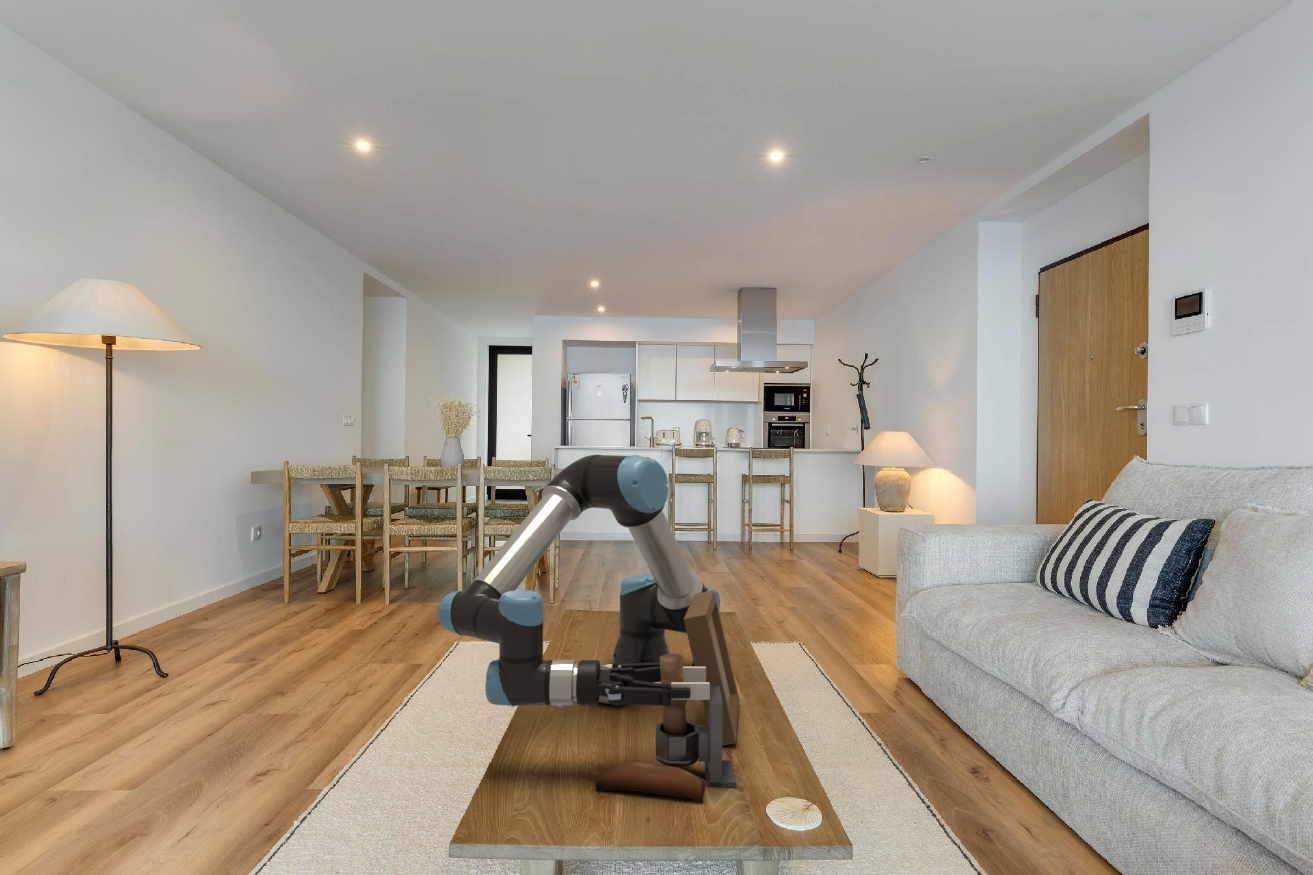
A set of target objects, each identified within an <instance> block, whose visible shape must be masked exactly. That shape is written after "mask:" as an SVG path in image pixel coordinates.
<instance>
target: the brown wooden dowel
mask: <svg viewBox="0 0 1313 875" xmlns="http://www.w3.org/2000/svg"><path fill="white" fill-rule="evenodd" d="M683 660H684V658H683V655H682V654H679V653H670V654H665V655H662V656H660V673H661V682H660V684H667V685H671V682H684V674H683V667H684V663H683V662H684V661H683ZM686 710H687V708H686V704H685V700H671V705H670V706H662V720H663V721H662V722H663V723H664V733H666V734H668V735H676V736H685V735H687V723H686V720H687V711H686Z"/></svg>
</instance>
